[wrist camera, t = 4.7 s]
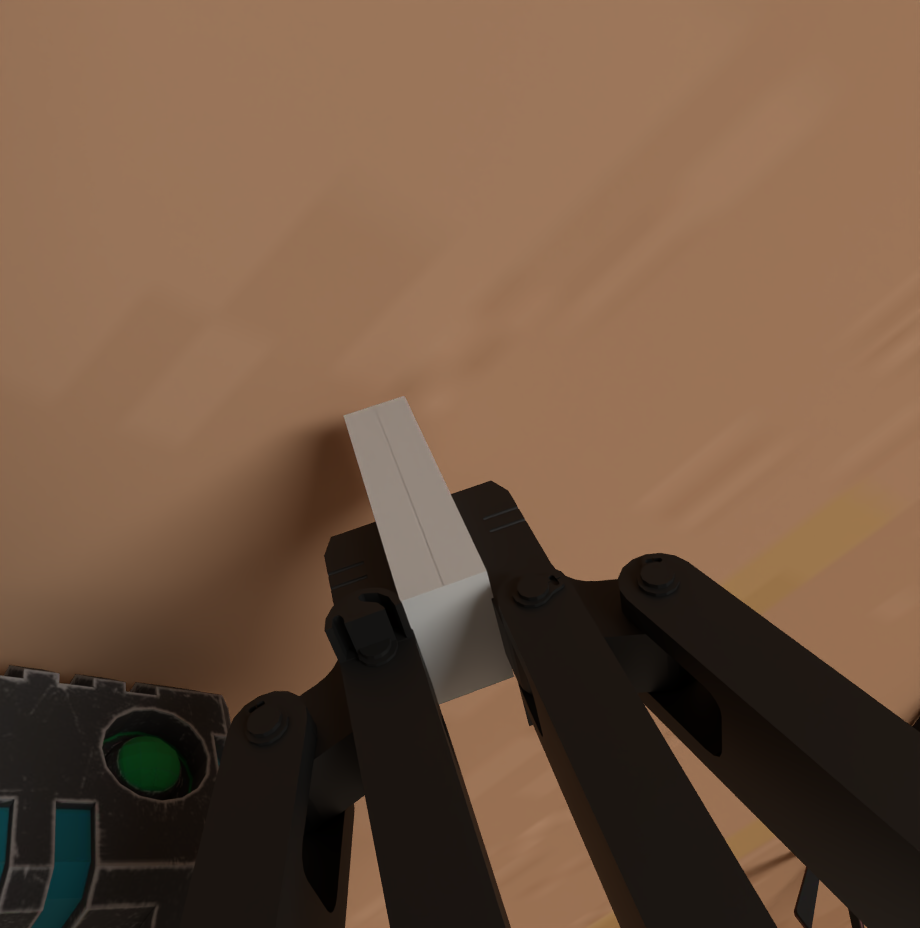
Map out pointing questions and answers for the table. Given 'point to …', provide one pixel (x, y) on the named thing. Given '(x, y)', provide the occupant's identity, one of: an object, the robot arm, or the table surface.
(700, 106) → the table surface
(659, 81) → the table surface
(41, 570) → the table surface
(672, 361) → the table surface
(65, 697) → the toy gun
